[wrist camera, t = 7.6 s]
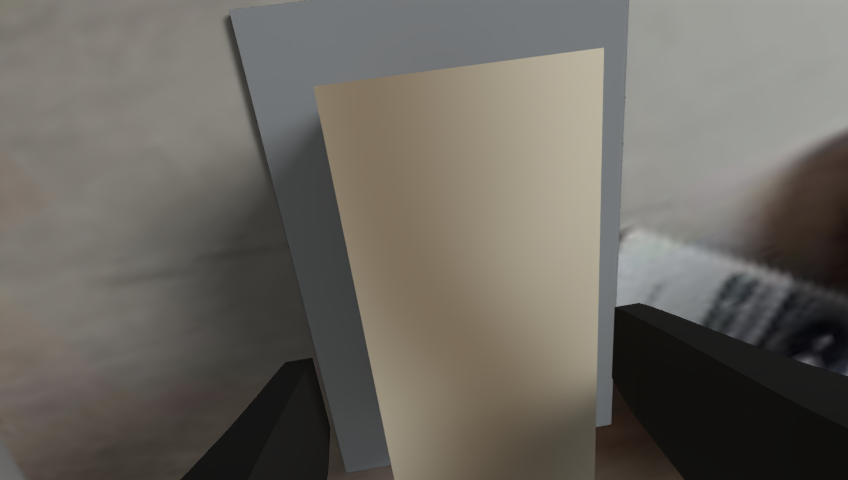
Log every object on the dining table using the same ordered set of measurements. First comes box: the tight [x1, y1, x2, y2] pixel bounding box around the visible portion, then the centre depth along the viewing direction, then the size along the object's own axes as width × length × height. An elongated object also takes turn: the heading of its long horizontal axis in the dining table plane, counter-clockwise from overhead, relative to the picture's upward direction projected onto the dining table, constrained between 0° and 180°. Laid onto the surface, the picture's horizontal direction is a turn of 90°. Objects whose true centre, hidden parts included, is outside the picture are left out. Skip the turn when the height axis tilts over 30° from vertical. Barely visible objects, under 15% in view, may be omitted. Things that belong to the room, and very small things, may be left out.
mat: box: [229, 0, 629, 473], centre depth 16 cm, size 12×18×1 cm, turn 7°
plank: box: [313, 48, 604, 480], centre depth 10 cm, size 4×13×4 cm, turn 7°
